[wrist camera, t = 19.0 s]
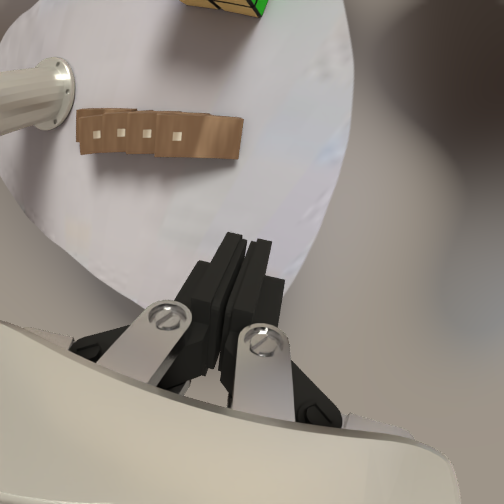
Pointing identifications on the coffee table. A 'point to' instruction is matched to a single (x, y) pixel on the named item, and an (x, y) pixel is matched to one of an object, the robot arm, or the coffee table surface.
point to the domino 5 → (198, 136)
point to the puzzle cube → (232, 5)
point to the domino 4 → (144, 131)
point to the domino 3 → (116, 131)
